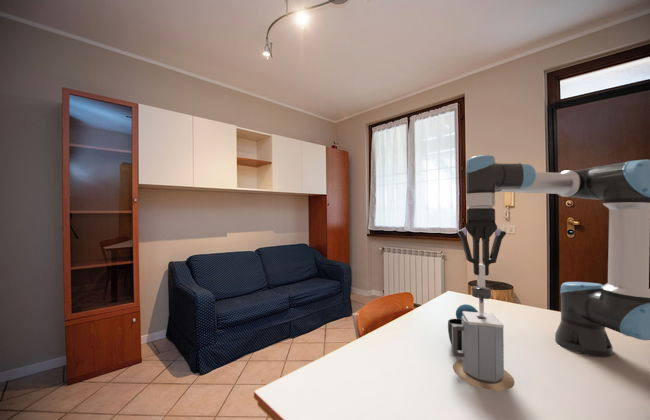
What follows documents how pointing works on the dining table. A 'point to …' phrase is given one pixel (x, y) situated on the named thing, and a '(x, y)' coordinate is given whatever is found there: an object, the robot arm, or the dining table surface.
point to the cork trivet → (503, 385)
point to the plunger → (481, 297)
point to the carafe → (480, 347)
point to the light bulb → (464, 308)
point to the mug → (459, 332)
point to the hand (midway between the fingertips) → (481, 285)
